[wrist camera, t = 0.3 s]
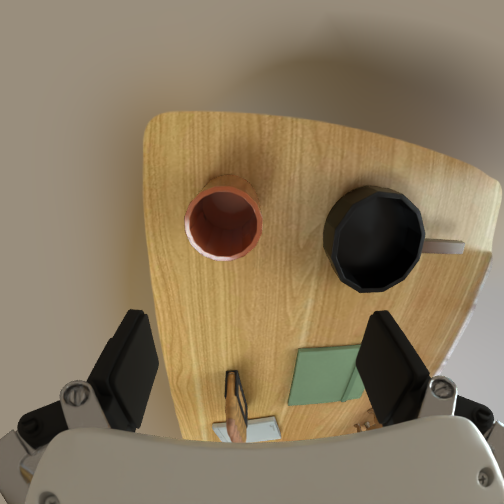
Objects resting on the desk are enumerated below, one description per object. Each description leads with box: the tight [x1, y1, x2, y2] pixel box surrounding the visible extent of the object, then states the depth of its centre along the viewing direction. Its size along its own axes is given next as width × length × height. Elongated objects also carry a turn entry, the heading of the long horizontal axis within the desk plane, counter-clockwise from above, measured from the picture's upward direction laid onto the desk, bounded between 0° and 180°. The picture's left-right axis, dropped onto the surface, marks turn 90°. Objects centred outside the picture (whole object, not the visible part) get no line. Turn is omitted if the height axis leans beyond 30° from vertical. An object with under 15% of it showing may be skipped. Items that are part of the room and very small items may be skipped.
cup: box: [184, 175, 263, 261], centre depth 26 cm, size 6×6×8 cm
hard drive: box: [212, 416, 281, 443], centre depth 47 cm, size 2×8×12 cm
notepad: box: [288, 345, 365, 406], centre depth 41 cm, size 14×14×1 cm
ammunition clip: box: [225, 370, 248, 443], centre depth 37 cm, size 11×2×12 cm, turn 8°
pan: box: [323, 186, 465, 293], centre depth 30 cm, size 12×20×4 cm, turn 88°
